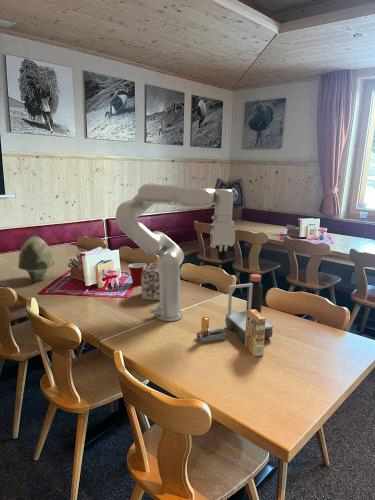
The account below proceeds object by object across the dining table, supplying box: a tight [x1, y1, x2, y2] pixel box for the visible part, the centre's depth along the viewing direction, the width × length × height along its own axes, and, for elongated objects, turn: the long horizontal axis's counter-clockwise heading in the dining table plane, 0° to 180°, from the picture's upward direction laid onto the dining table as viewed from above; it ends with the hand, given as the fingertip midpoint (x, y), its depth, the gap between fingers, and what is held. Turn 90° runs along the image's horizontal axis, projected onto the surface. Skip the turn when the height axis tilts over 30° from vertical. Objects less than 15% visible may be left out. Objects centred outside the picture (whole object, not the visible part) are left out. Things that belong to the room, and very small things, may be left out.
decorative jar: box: [140, 262, 159, 301], centre depth 195 cm, size 12×12×18 cm
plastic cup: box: [127, 262, 148, 287], centre depth 215 cm, size 11×11×12 cm
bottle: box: [245, 273, 263, 315], centre depth 173 cm, size 7×7×20 cm
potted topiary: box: [18, 231, 55, 283], centre depth 217 cm, size 19×20×30 cm
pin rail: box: [196, 331, 227, 344], centre depth 151 cm, size 11×5×2 cm, turn 110°
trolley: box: [225, 282, 274, 343], centre depth 155 cm, size 13×18×19 cm
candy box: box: [244, 309, 267, 357], centre depth 141 cm, size 9×4×15 cm, turn 16°
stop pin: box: [199, 316, 225, 339], centre depth 151 cm, size 10×3×8 cm, turn 110°
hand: (221, 259), depth 162 cm, fingers closed
